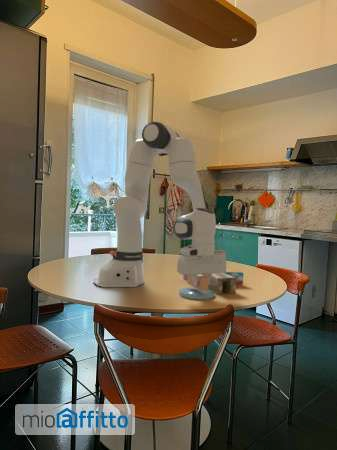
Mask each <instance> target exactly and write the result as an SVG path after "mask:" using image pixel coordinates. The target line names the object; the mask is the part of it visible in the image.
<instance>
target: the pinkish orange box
mask: <svg viewBox="0 0 337 450" xmlns="http://www.w3.org/2000/svg"><path fill="white" fill-rule="evenodd" d="M196 278H197V280H198V281H200V282H199V285H198V286H195V285H194V280H193V278H192V275H188V279H187V280H186V281H187V283H186V284H187V285H190V286H191V287H195V288H197V289H199V290H201V291H205V290H208V279H209V277H206V276H204V275H202V274H197V277H196Z"/></svg>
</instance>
